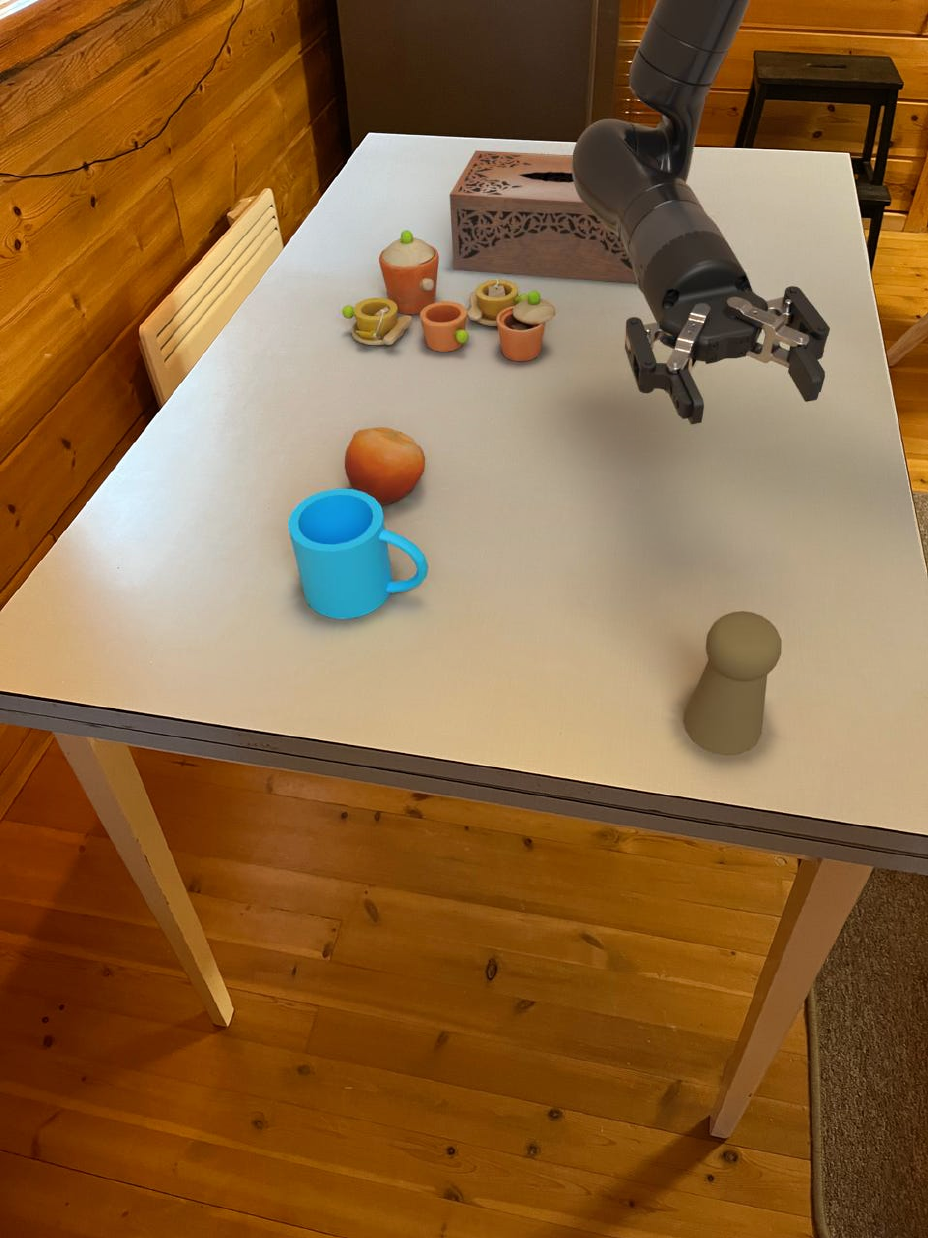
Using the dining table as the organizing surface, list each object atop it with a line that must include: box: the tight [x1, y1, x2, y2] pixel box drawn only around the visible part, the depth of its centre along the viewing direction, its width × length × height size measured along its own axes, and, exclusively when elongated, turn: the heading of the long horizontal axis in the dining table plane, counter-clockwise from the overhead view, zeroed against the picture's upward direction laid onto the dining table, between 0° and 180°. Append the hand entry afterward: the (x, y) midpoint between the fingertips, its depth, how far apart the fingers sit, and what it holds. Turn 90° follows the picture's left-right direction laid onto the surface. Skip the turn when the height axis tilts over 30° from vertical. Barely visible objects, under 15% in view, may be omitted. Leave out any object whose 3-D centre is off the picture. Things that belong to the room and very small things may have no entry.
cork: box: [683, 610, 782, 756], centre depth 69 cm, size 6×6×11 cm
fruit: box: [344, 426, 426, 506], centre depth 92 cm, size 8×8×8 cm
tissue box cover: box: [449, 150, 637, 284], centre depth 124 cm, size 26×14×10 cm, turn 76°
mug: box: [287, 488, 429, 620], centre depth 82 cm, size 12×8×8 cm
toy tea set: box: [341, 230, 557, 362], centre depth 112 cm, size 26×16×10 cm, turn 72°
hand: (756, 403), depth 66 cm, fingers open, 8 cm apart
